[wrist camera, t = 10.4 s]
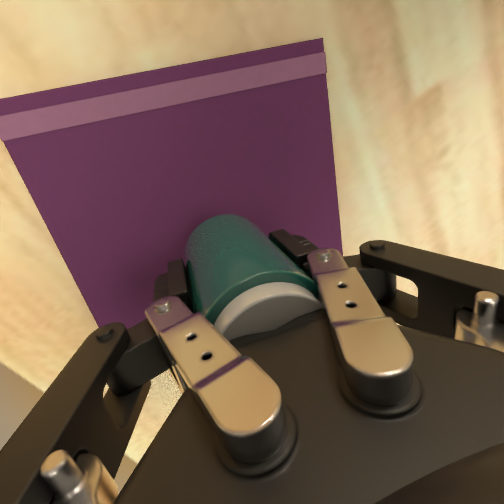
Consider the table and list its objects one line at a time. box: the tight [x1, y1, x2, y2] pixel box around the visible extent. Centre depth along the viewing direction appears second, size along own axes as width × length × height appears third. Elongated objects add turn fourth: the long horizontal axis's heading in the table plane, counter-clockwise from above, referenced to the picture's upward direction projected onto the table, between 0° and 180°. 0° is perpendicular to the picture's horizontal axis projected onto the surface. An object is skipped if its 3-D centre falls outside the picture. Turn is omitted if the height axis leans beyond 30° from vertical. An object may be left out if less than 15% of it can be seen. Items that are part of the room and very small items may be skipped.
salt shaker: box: [184, 214, 323, 341], centre depth 12 cm, size 4×4×8 cm
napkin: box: [0, 38, 343, 329], centre depth 22 cm, size 20×20×1 cm
